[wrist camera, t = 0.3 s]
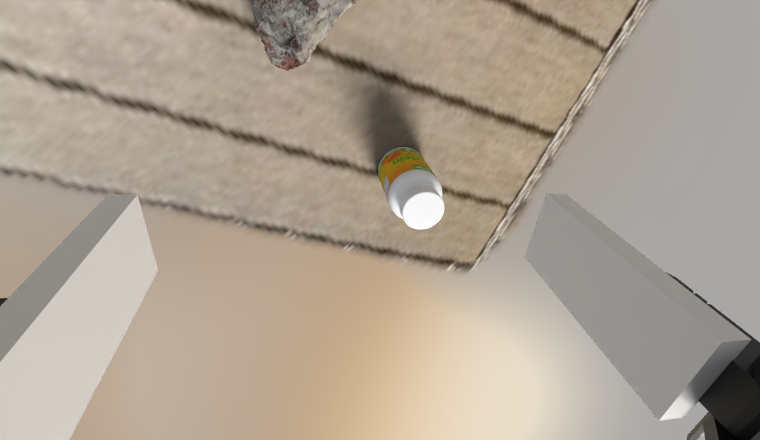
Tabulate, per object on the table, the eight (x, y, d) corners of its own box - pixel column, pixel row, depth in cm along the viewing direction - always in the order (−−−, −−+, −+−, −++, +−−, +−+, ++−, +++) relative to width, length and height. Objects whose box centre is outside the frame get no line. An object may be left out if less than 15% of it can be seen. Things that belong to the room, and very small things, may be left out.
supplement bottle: (425, 144, 41) (455, 181, 33) (422, 188, 44) (449, 233, 36) (376, 147, 40) (395, 187, 32) (377, 191, 43) (394, 238, 35)
